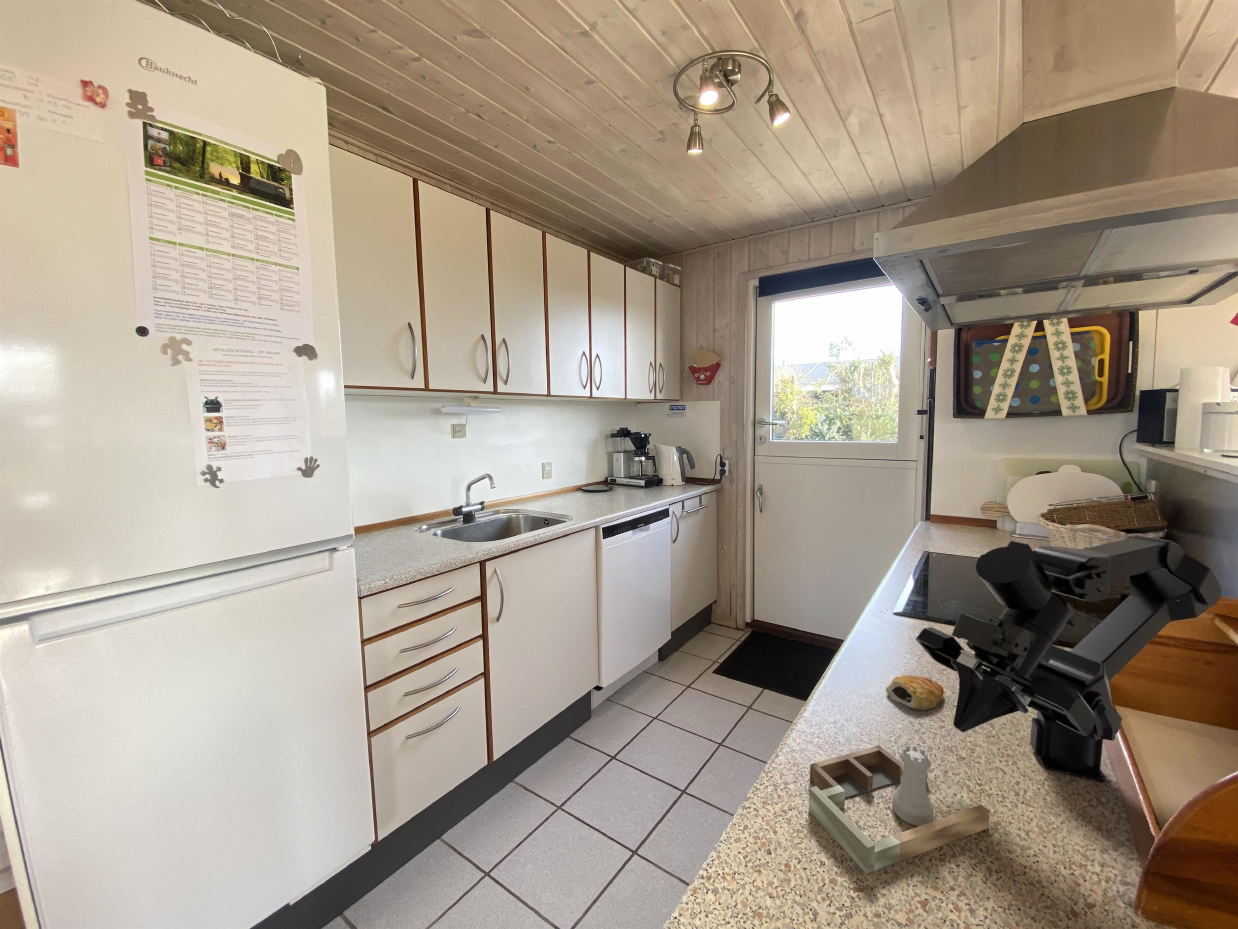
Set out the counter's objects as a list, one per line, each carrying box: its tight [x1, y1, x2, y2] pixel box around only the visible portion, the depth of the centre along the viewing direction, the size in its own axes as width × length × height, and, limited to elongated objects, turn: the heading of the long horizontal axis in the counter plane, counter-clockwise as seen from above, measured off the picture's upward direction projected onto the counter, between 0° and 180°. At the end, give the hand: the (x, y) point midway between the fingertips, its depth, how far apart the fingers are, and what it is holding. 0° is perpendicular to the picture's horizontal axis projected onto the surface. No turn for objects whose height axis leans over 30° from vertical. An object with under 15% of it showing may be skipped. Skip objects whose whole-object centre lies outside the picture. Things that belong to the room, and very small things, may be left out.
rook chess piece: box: [891, 745, 935, 827], centre depth 60 cm, size 4×4×8 cm
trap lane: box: [808, 744, 990, 875], centre depth 62 cm, size 18×13×3 cm
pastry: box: [885, 674, 945, 711], centre depth 86 cm, size 9×7×4 cm
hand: (957, 729), depth 62 cm, fingers closed
